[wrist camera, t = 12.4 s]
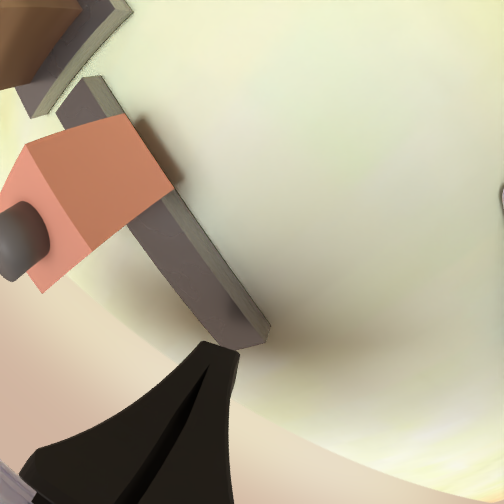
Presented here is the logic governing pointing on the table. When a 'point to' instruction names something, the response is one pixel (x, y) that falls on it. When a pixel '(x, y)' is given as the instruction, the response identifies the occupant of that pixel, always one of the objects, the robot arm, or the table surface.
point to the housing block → (30, 35)
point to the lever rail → (178, 242)
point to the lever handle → (74, 197)
